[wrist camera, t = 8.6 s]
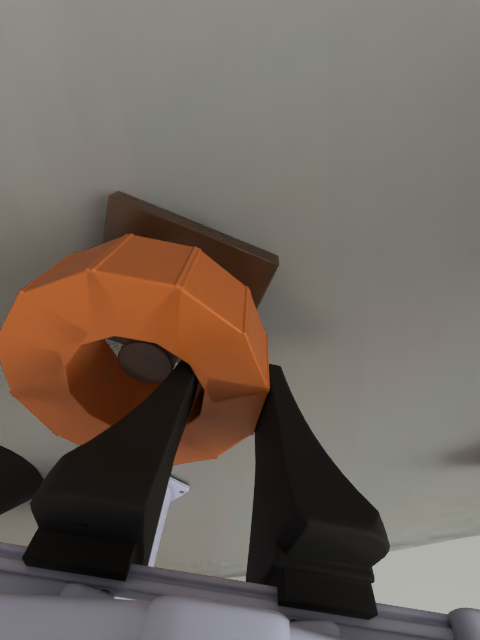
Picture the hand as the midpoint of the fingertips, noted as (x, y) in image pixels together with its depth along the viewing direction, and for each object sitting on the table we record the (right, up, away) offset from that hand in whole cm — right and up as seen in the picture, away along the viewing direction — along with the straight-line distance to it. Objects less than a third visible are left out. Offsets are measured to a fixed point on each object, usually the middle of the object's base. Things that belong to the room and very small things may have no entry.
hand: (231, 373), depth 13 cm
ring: (-4, +2, +1) cm, 4 cm away
